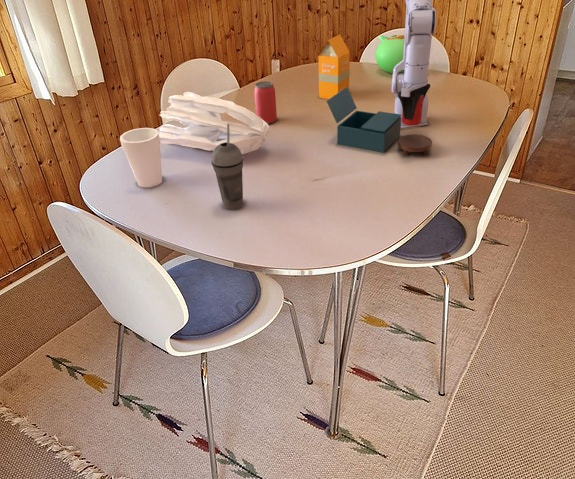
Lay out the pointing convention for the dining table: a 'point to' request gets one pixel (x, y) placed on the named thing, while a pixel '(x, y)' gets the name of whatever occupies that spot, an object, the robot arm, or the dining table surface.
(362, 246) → the dining table surface
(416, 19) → the robot arm
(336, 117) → the cool box flap
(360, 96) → the dining table surface
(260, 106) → the beer can
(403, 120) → the can
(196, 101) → the white plastic bag
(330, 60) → the orange juice
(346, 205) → the dining table surface
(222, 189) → the beverage cup
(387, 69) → the green round bowl
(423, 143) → the coaster
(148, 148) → the foam cup
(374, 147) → the teal box
